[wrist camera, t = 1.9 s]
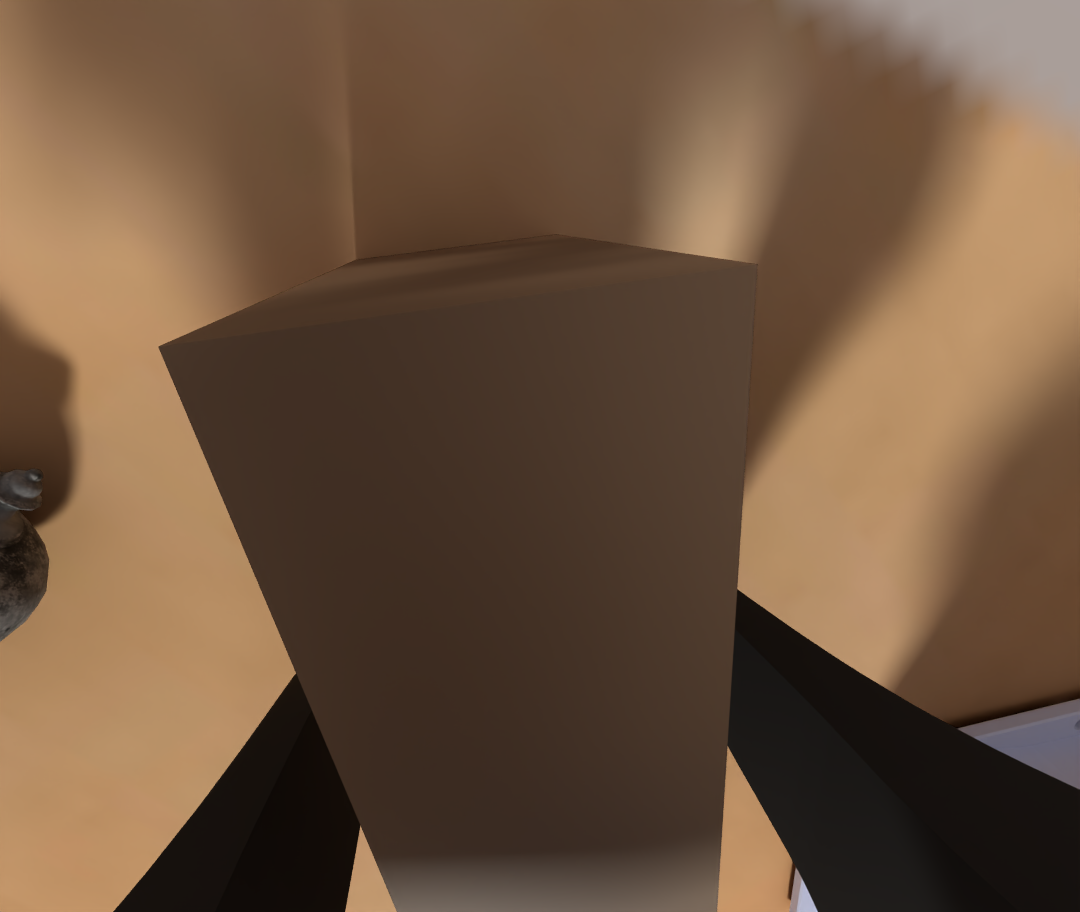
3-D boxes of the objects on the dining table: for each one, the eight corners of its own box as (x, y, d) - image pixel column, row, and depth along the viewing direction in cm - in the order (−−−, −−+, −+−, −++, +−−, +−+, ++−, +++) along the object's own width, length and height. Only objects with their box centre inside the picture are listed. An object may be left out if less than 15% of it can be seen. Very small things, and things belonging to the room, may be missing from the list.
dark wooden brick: (554, 234, 8) (756, 266, 3) (605, 797, 14) (702, 1156, 9) (358, 259, 8) (159, 346, 2) (494, 822, 14) (523, 1209, 8)
